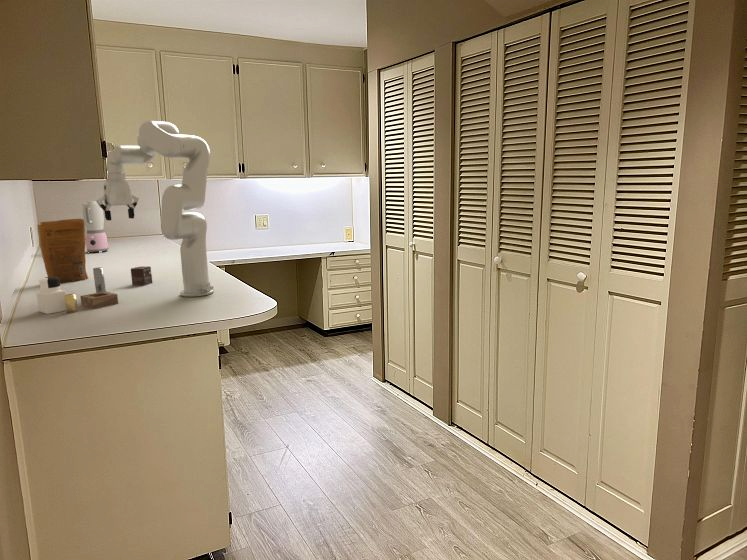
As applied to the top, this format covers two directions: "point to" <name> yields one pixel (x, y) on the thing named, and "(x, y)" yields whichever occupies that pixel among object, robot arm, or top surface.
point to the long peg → (99, 279)
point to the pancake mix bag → (63, 249)
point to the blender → (94, 227)
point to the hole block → (99, 299)
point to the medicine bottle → (51, 296)
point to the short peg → (71, 303)
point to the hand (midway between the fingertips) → (120, 219)
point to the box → (141, 275)
